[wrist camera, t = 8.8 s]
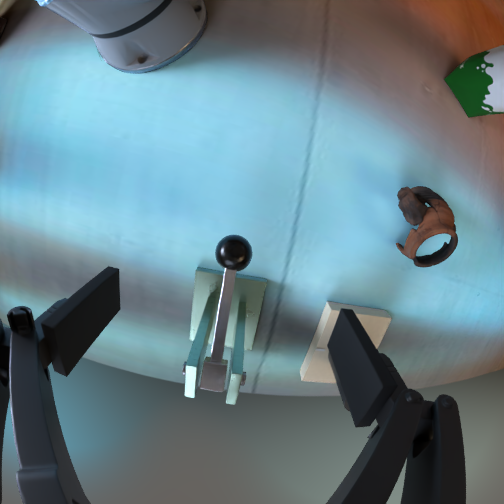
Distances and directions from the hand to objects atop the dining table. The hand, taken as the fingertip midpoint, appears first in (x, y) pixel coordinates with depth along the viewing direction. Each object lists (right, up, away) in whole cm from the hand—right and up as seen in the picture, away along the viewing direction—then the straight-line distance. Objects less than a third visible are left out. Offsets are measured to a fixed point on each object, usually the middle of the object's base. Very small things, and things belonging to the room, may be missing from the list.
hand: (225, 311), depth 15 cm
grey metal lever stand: (-2, -4, +22) cm, 22 cm away
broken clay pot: (+23, +8, +18) cm, 30 cm away
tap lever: (-1, -3, +12) cm, 13 cm away
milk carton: (+35, +29, +11) cm, 47 cm away
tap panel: (+15, -10, +23) cm, 30 cm away
